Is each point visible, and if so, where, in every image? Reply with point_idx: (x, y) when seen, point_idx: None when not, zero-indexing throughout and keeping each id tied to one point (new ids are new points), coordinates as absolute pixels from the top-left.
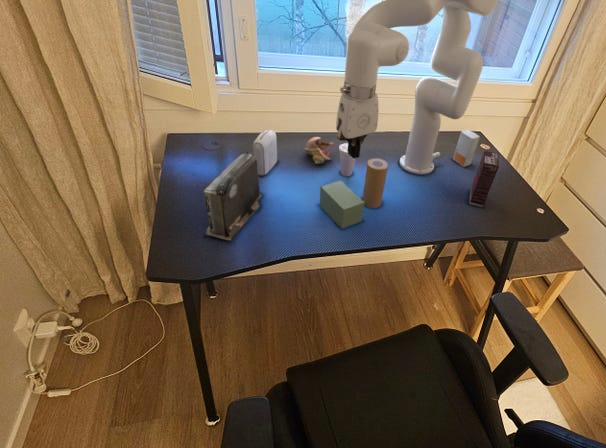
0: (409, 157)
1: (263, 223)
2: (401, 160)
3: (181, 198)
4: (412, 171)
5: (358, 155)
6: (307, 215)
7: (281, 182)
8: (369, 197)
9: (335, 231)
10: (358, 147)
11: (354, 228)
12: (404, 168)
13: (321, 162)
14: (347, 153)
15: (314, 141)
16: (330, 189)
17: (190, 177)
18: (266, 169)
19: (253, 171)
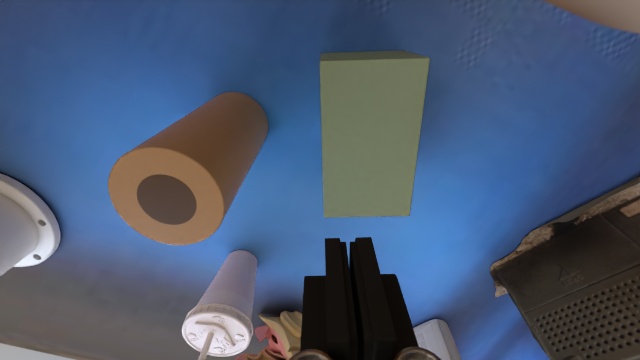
0: (3, 241)
1: (565, 177)
2: (47, 249)
3: None
4: (26, 193)
5: (335, 248)
6: (449, 155)
7: (417, 287)
8: (253, 118)
9: (429, 49)
10: (348, 314)
11: (365, 31)
12: (51, 216)
13: (289, 313)
14: (235, 315)
15: None
16: (390, 189)
17: None
18: (434, 331)
19: (576, 334)
